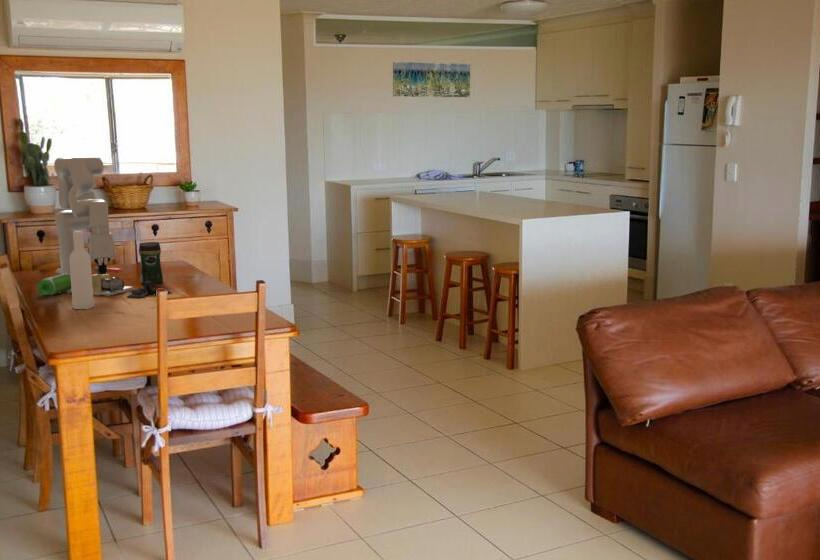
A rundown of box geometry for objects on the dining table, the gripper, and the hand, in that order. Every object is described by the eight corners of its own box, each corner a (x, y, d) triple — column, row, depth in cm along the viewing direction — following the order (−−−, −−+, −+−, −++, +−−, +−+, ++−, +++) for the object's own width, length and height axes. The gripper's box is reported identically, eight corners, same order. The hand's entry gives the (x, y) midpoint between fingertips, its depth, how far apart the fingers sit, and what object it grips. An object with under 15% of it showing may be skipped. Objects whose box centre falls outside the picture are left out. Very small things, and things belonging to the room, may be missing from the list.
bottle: (68, 308, 342) (62, 232, 337) (85, 305, 349) (80, 229, 344) (81, 310, 338) (75, 233, 333) (98, 307, 344) (93, 231, 339)
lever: (92, 274, 376) (92, 267, 375) (99, 273, 379) (98, 266, 378) (117, 276, 369) (116, 269, 368) (123, 275, 372) (123, 268, 372)
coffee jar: (162, 280, 402) (160, 240, 399) (163, 283, 395) (161, 242, 392) (140, 282, 399) (138, 241, 396) (140, 285, 392) (138, 243, 389)
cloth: (126, 301, 359) (125, 286, 358) (123, 293, 376) (122, 279, 375) (182, 296, 367) (181, 282, 366) (176, 289, 384) (176, 275, 383)
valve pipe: (66, 293, 374) (65, 276, 373) (91, 286, 389) (90, 270, 388) (110, 296, 366) (109, 279, 365) (134, 289, 381) (133, 273, 380)
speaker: (62, 288, 385) (61, 271, 384) (77, 289, 384) (76, 272, 382) (37, 296, 368) (36, 278, 367) (52, 297, 367) (51, 279, 365)
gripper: (84, 232, 356) (87, 277, 360) (120, 229, 365) (123, 273, 368) (78, 231, 362) (81, 274, 366) (114, 228, 371) (117, 271, 374)
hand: (102, 274), depth 367 cm, fingers closed
